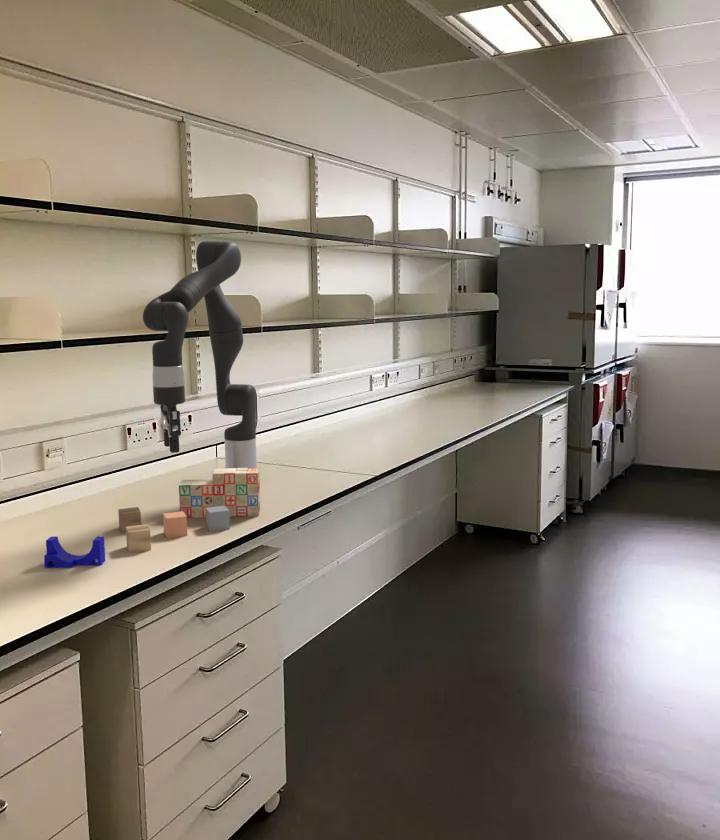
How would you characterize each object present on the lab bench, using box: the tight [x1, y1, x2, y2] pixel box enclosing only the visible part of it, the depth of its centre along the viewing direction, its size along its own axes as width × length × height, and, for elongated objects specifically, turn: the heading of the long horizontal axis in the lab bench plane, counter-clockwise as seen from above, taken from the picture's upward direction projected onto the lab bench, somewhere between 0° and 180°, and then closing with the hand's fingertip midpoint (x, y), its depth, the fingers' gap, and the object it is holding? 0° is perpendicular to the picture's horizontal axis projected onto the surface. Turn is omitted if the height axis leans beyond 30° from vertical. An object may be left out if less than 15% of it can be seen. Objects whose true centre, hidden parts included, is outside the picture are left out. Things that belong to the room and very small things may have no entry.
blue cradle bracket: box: [43, 535, 106, 569], centre depth 178 cm, size 12×4×6 cm, turn 89°
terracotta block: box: [162, 511, 188, 539], centre depth 200 cm, size 5×5×5 cm
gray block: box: [205, 506, 231, 532], centre depth 205 cm, size 5×5×5 cm
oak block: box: [125, 523, 152, 554], centre depth 189 cm, size 5×5×5 cm
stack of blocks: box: [178, 467, 261, 518], centre depth 217 cm, size 21×6×12 cm, turn 93°
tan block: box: [117, 506, 142, 534], centre depth 204 cm, size 5×5×5 cm
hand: (171, 449), depth 197 cm, fingers open, 8 cm apart
